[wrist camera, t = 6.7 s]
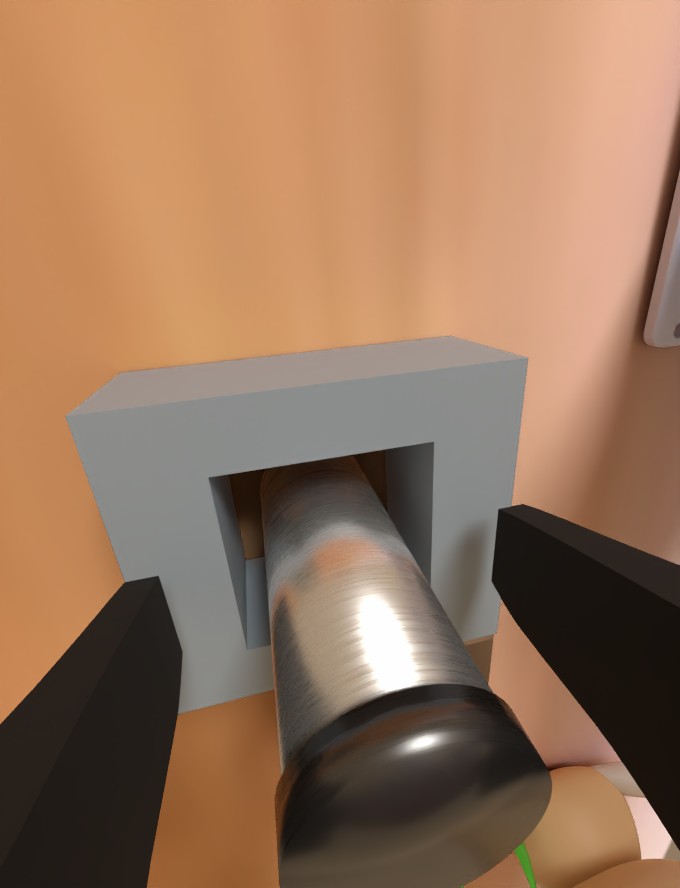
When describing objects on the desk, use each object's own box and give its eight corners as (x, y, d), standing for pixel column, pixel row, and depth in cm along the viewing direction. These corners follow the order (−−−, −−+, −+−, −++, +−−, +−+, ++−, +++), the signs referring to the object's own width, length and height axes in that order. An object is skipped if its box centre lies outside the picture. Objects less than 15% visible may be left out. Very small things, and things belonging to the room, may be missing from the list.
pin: (377, 444, 13) (597, 734, 5) (350, 536, 14) (493, 891, 6) (266, 428, 12) (314, 759, 4) (248, 528, 13) (256, 942, 5)
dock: (451, 335, 12) (528, 357, 9) (442, 557, 15) (496, 633, 12) (119, 372, 10) (65, 415, 7) (189, 611, 13) (173, 715, 10)
